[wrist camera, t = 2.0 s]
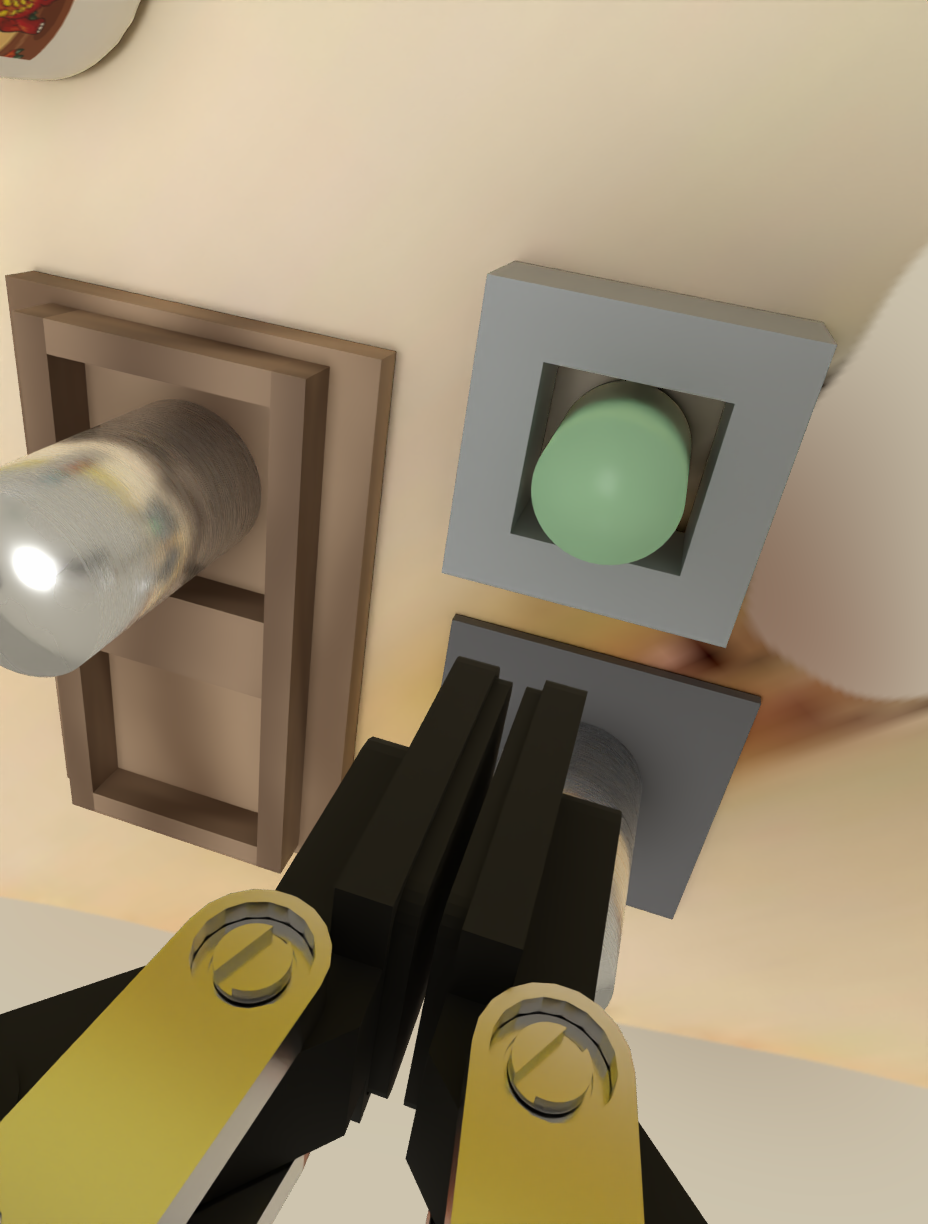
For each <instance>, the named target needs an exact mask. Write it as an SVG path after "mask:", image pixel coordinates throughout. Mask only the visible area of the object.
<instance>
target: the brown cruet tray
mask: <svg viewBox="0 0 928 1224" xmlns="http://www.w3.org/2000/svg"><path fill="white" fill-rule="evenodd" d="M5 278H6V286H7V294H8V302H9V310H10V318H11V326H12V334H13V342H14V350H15V358H16V366H17V374H18V383H19V391H20V399H21V407H22V415H23V423H24V431H25V439H26V447H27V455H29V454H31V453H33V452H36V451H38V450H41V449H43V448H45V447H48V446H50V445H52V444H55V443H57V442H60V441H62V440H64V439H67V438H69V437H71V436H74V435H76V434H79V433H81V432H83V431H86V430H88V429H90V428H93V427H95V426H98V425H100V424H102V423H105V422H107V421H109V420H112V419H114V418H117V417H119V416H121V415H124V414H126V413H128V412H131V411H133V410H136V409H138V408H140V407H143V406H145V405H147V404H150V403H152V402H156V401H159V400H166V399H178V400H184V401H189V402H192V403H195V404H198V405H200V406H203V407H205V408H207V409H209V410H210V411H212V412H214V413H215V414H217V415H218V416H219V417H221V418H222V419H223V420H225V421H226V422H227V423H228V424H229V425H230V426H231V427H232V428H233V429H234V430H235V431H236V433H237V434H238V435H239V436H240V437H241V439H242V440H243V442H244V443H245V445H246V446H247V448H248V450H249V451H250V453H251V455H252V457H253V460H254V462H255V465H256V467H257V471H258V474H259V478H260V485H261V505H260V510H259V514H258V517H257V519H256V522H255V524H254V525H253V527H252V529H251V530H250V531H249V533H248V534H247V535H246V536H245V537H244V538H243V539H242V540H240V541H239V542H238V543H237V544H235V545H234V546H233V547H231V548H230V549H229V550H228V551H226V552H225V553H224V554H223V555H221V556H220V557H219V558H217V559H216V560H215V561H214V562H212V563H211V564H210V565H208V566H207V567H206V568H205V569H203V570H202V571H201V572H200V573H198V574H197V575H196V576H194V577H193V578H192V579H191V580H189V581H188V582H187V583H185V584H184V585H183V586H182V587H180V588H179V589H178V590H177V591H175V592H174V593H173V594H171V595H170V596H169V597H168V598H166V599H165V600H164V601H162V602H161V603H160V604H159V605H157V606H156V607H155V608H154V609H152V610H151V611H150V612H148V613H147V614H146V615H145V616H143V617H142V618H141V619H139V620H138V621H137V622H136V623H134V624H133V625H132V626H131V627H129V628H128V629H127V630H125V631H124V632H123V633H122V634H120V635H119V636H118V637H116V638H115V639H114V640H113V641H111V642H110V643H109V644H108V645H106V646H105V647H104V648H102V649H101V650H100V651H99V652H97V653H96V654H95V655H93V656H92V657H91V658H90V659H88V660H87V661H86V662H85V663H83V664H82V665H81V666H79V667H78V668H77V669H75V670H73V671H71V672H69V673H67V674H64V675H61V676H55V680H56V688H57V696H58V704H59V712H60V720H61V728H62V736H63V744H64V752H65V760H66V768H67V776H68V778H70V786H71V794H72V803H73V804H74V805H77V806H80V807H83V808H86V809H89V810H92V811H95V812H98V813H101V814H104V815H107V816H110V817H113V818H116V819H119V820H122V821H125V822H128V823H131V824H134V825H137V826H139V827H142V828H145V829H148V830H151V831H154V832H157V833H160V834H163V835H166V836H169V837H172V838H175V839H178V840H181V841H184V842H187V843H190V844H193V845H196V846H199V847H202V848H205V849H208V850H211V851H214V852H217V853H220V854H223V855H226V856H229V857H232V858H235V859H238V860H241V861H244V862H247V863H250V864H253V865H256V866H259V867H262V868H265V869H268V870H271V871H274V872H277V873H280V874H281V872H282V870H283V869H284V867H285V866H286V864H287V862H288V861H289V859H290V858H291V856H292V854H293V853H294V852H295V853H298V852H299V850H300V849H301V847H302V845H303V844H304V842H305V841H306V839H307V837H308V836H309V834H310V832H311V831H312V829H313V827H314V826H315V824H316V823H317V821H318V819H319V818H320V816H321V814H322V813H323V811H324V809H325V808H326V806H327V805H328V803H329V801H330V800H331V798H332V796H333V795H334V793H335V791H336V790H337V788H338V787H339V785H340V783H341V782H342V780H343V778H344V777H345V775H346V773H347V772H348V770H349V769H350V767H351V765H352V764H353V758H354V748H355V739H356V729H357V719H358V710H359V700H360V691H361V681H362V672H363V662H364V653H365V643H366V633H367V624H368V614H369V605H370V595H371V586H372V576H373V567H374V557H375V547H376V538H377V528H378V519H379V509H380V500H381V490H382V481H383V471H384V461H385V452H386V442H387V433H388V423H389V414H390V404H391V395H392V385H393V375H394V366H395V356H396V351H391V350H387V349H382V348H378V347H373V346H369V345H364V344H360V343H355V342H351V341H346V340H342V339H337V338H333V337H328V336H324V335H319V334H315V333H310V332H306V331H301V330H297V329H292V328H288V327H283V326H279V325H274V324H270V323H265V322H261V321H256V320H252V319H247V318H243V317H238V316H234V315H229V314H225V313H220V312H216V311H211V310H207V309H202V308H198V307H193V306H189V305H184V304H180V303H175V302H171V301H166V300H162V299H157V298H153V297H148V296H144V295H139V294H135V293H130V292H126V291H121V290H117V289H112V288H108V287H103V286H99V285H94V284H90V283H85V282H81V281H76V280H72V279H67V278H63V277H58V276H54V275H49V274H45V273H40V272H36V271H30V272H24V273H18V274H11V275H5Z"/></svg>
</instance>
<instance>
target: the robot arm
mask: <svg viewBox="0 0 928 1224" xmlns="http://www.w3.org/2000/svg"><path fill="white" fill-rule="evenodd" d="M499 675H500V667H498V666H495V665H491V664H488V663H484V662H480V661H477V660H473V659H470V658H466V657H462V656H458V657H457V659H456V660H455V662H454V664H453V666H452V668H451V670H450V671H449V673H448V675H447V677H446V679H445V681H444V683H443V685H442V687H441V688H440V690H439V692H438V694H437V696H436V698H435V700H434V702H433V703H432V705H431V707H430V709H429V711H428V713H427V715H426V717H425V719H424V720H423V722H422V724H421V726H420V728H419V730H418V732H417V734H416V735H415V737H414V739H413V741H412V743H411V745H410V747H406V746H403V745H399V744H396V743H393V742H389V741H386V740H383V739H379V738H376V737H371V738H370V739H368V740H367V742H366V743H365V744H364V746H363V747H362V749H361V750H360V752H359V754H358V755H357V757H356V759H355V760H354V762H353V764H352V765H351V767H350V769H349V770H348V772H347V773H346V775H345V777H344V778H343V780H342V782H341V783H340V785H339V787H338V788H337V790H336V791H335V793H334V795H333V796H332V798H331V800H330V801H329V803H328V805H327V806H326V808H325V809H324V811H323V813H322V814H321V816H320V818H319V819H318V821H317V823H316V824H315V826H314V827H313V829H312V831H311V832H310V834H309V836H308V837H307V839H306V841H305V842H304V844H303V845H302V847H301V849H300V850H299V852H298V854H297V855H296V857H295V859H294V860H293V862H292V863H291V865H290V867H289V868H288V870H287V872H286V873H285V875H284V877H283V878H282V880H281V881H280V883H279V885H278V886H277V888H276V890H261V889H251V890H246V891H241V892H235V893H230V894H228V895H226V896H224V897H221V898H219V899H217V900H215V901H213V902H210V903H208V904H207V905H206V906H205V907H203V908H202V909H201V910H200V911H198V912H197V913H196V914H195V915H194V916H192V917H191V918H190V919H189V920H188V921H187V922H186V923H185V924H184V925H183V926H182V927H181V929H180V930H179V931H178V932H177V933H176V934H175V935H174V936H173V937H172V938H171V939H170V940H169V941H168V943H167V944H166V945H165V946H164V947H163V948H162V949H161V950H160V951H159V952H158V953H157V955H155V956H154V958H153V959H152V960H151V961H150V962H149V963H148V964H147V965H146V966H143V967H140V968H137V969H134V970H131V971H128V972H125V973H122V974H119V975H116V976H114V977H110V978H107V979H104V980H101V981H98V982H95V983H92V984H89V985H86V986H83V987H81V988H77V989H74V990H72V991H68V992H66V993H63V994H60V995H57V996H54V997H51V998H48V999H45V1000H42V1001H39V1002H36V1003H33V1004H30V1005H27V1006H24V1007H21V1008H18V1009H15V1010H12V1011H9V1012H6V1013H3V1014H0V1224H272V1223H273V1221H274V1220H275V1218H276V1216H277V1214H278V1213H279V1211H280V1209H281V1208H282V1206H283V1204H284V1202H285V1201H286V1199H287V1197H288V1195H289V1194H290V1192H291V1190H292V1188H293V1187H294V1185H295V1183H296V1182H297V1180H298V1178H299V1176H300V1174H301V1173H302V1171H303V1169H304V1166H305V1164H306V1161H307V1159H308V1157H309V1154H310V1152H311V1151H313V1150H315V1149H317V1148H319V1147H321V1146H323V1145H326V1144H328V1143H330V1142H332V1141H334V1140H336V1139H338V1138H340V1137H342V1136H344V1135H345V1133H346V1130H347V1127H348V1125H349V1122H350V1120H352V1121H354V1122H358V1123H360V1121H361V1118H362V1116H363V1112H364V1110H365V1108H366V1105H367V1102H368V1100H369V1097H370V1094H371V1093H373V1094H375V1095H378V1096H381V1097H383V1098H386V1099H388V1097H389V1095H390V1093H391V1090H392V1088H393V1085H394V1082H395V1079H396V1076H397V1074H398V1071H399V1068H400V1065H401V1062H402V1059H403V1056H404V1054H405V1051H406V1048H407V1045H408V1043H409V1040H410V1037H411V1034H412V1031H413V1028H414V1025H415V1023H416V1020H417V1017H418V1014H419V1012H420V1009H421V1006H422V1003H423V1000H424V1004H423V1009H422V1014H421V1019H420V1024H419V1029H418V1035H417V1039H416V1044H415V1049H414V1054H413V1059H412V1064H411V1069H410V1074H409V1079H408V1084H407V1089H406V1094H405V1099H404V1105H405V1106H408V1107H410V1108H413V1109H416V1113H415V1118H414V1122H413V1127H412V1131H411V1136H410V1141H409V1145H408V1150H407V1155H406V1160H407V1163H408V1165H409V1167H410V1169H411V1172H412V1173H413V1176H414V1178H415V1180H416V1183H417V1185H418V1187H419V1189H420V1191H421V1194H422V1196H423V1198H424V1200H425V1202H426V1205H427V1207H428V1209H429V1210H428V1214H427V1218H426V1224H707V1222H706V1221H705V1219H704V1218H703V1216H702V1215H701V1213H700V1212H699V1210H698V1209H697V1207H696V1206H695V1205H694V1203H693V1201H692V1200H691V1198H690V1197H689V1196H688V1194H687V1193H686V1191H685V1190H684V1188H683V1187H682V1185H681V1184H680V1182H679V1181H678V1179H677V1178H676V1176H675V1175H674V1173H673V1172H672V1171H671V1169H670V1168H669V1166H668V1165H667V1163H666V1162H665V1160H664V1159H663V1157H662V1156H661V1155H660V1153H659V1151H658V1150H657V1149H656V1147H655V1145H654V1144H653V1143H652V1141H651V1140H650V1138H649V1137H648V1135H647V1134H646V1132H645V1131H644V1129H643V1128H642V1126H641V1125H640V1123H639V1122H638V1109H637V1092H636V1076H635V1069H634V1065H633V1061H632V1055H631V1051H630V1048H629V1045H628V1044H627V1042H626V1040H625V1038H624V1036H623V1034H622V1032H621V1030H620V1029H619V1027H618V1025H617V1024H616V1023H615V1022H614V1021H613V1019H612V1018H611V1017H610V1016H609V1015H608V1014H607V1013H606V1012H605V1011H604V1010H603V1009H602V1007H601V1006H600V1005H598V1004H596V1003H595V1002H594V1000H595V993H596V986H597V980H598V973H599V966H600V960H601V953H602V947H603V940H604V933H605V927H606V920H607V913H608V907H609V900H610V893H611V887H612V880H613V874H614V867H615V860H616V854H617V847H618V840H619V834H620V827H621V819H622V811H620V810H617V809H614V808H610V807H607V806H604V805H600V804H597V803H594V802H590V801H587V800H584V799H580V798H577V797H574V796H570V795H567V794H564V793H563V789H564V785H565V781H566V777H567V773H568V769H569V765H570V761H571V757H572V753H573V749H574V745H575V741H576V737H577V733H578V729H579V725H580V721H581V717H582V713H583V709H584V705H585V701H586V697H587V693H588V691H585V690H581V689H578V688H574V687H570V686H567V685H563V684H560V683H556V682H552V681H549V680H546V682H545V684H544V687H543V690H539V689H535V688H531V687H528V686H527V687H526V689H525V692H524V695H523V697H522V700H521V703H520V705H519V708H518V711H517V713H516V716H515V719H514V722H513V724H512V727H511V730H510V732H509V735H508V738H507V741H506V743H505V746H504V749H503V751H502V754H501V757H500V759H499V762H498V765H497V768H496V770H495V766H496V761H497V757H498V752H499V747H500V743H501V738H502V734H503V729H504V725H505V720H506V715H507V711H508V706H509V702H510V697H511V693H512V687H513V682H510V681H506V680H503V679H499ZM494 770H495V773H494ZM493 775H494V776H493ZM424 997H425V999H424Z"/></svg>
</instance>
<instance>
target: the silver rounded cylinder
mask: <svg viewBox="0 0 928 1224" xmlns="http://www.w3.org/2000/svg"><path fill="white" fill-rule="evenodd" d="M503 749H504V748H503ZM502 751H503V750H502ZM501 754H502V753H501ZM500 757H501V755H500ZM499 759H500V758H499ZM498 762H499V760H498ZM497 765H498V763H497ZM497 765H496V768H497ZM496 768H495V770H496ZM494 773H495V771H494ZM493 776H494V775H493ZM563 793H564V794H567V795H570V796H574V797H577V798H580V799H584V800H587V801H590V802H594V803H597V804H600V805H604V806H607V807H610V808H614V809H617V810H620V811H622V819H621V827H620V834H619V840H618V847H617V854H616V860H615V867H614V874H613V880H612V887H611V893H610V900H609V907H608V913H607V920H606V927H605V933H604V940H603V947H602V953H601V960H600V966H599V973H598V980H597V986H596V993H595V1000H594V1002H595V1003H596V1004H598V1005H600V1006H601V1007H602V1009H603V1010H604V1009H605V1008H606V1007H607V1006H608V1004H609V1002H610V1000H611V998H612V994H613V990H614V984H615V977H616V970H617V963H618V956H619V948H620V941H621V934H622V927H623V920H624V913H625V906H626V899H627V892H628V885H629V878H630V871H631V864H632V857H633V850H634V843H635V836H636V829H637V821H638V814H639V807H640V800H641V793H642V779H641V774H640V771H639V768H638V766H637V763H636V761H635V760H634V758H633V756H632V755H631V753H630V752H629V751H628V750H627V748H626V747H625V746H624V745H623V744H622V743H621V742H620V741H618V740H617V739H616V738H615V737H613V736H612V735H611V734H609V733H607V732H606V731H604V730H602V729H600V728H598V727H596V726H593V725H591V724H588V723H585V722H581V721H580V725H579V729H578V733H577V737H576V741H575V745H574V749H573V753H572V757H571V761H570V765H569V769H568V773H567V777H566V781H565V785H564V789H563Z"/></svg>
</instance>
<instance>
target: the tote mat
mask: <svg viewBox="0 0 928 1224" xmlns="http://www.w3.org/2000/svg"><path fill="white" fill-rule="evenodd" d="M458 656H462V657H466V658H470V659H473V660H477V661H480V662H484V663H488V664H491V665H495V666H498V667H500V675H499V679H503V680H506V681H510V682H513V687H512V693H511V697H510V702H509V706H508V711H507V715H506V720H505V725H504V729H503V734H502V738H501V743H500V747H499V752H498V757H497V761H496V765H497V763H498V760H499V758H500V755H501V753H502V750H503V748H504V746H505V743H506V741H507V738H508V735H509V732H510V730H511V727H512V724H513V722H514V719H515V716H516V713H517V711H518V708H519V705H520V703H521V700H522V697H523V695H524V692H525V689H526V687H527V686H528V687H531V688H535V689H539V690H543V687H544V684H545V682H546V680H549V681H552V682H556V683H560V684H563V685H567V686H570V687H574V688H578V689H581V690H585V691H588V693H587V697H586V701H585V705H584V709H583V713H582V717H581V722H585V723H588V724H591V725H593V726H596V727H598V728H600V729H602V730H604V731H606V732H607V733H609V734H611V735H612V736H613V737H615V738H616V739H617V740H618V741H620V742H621V743H622V744H623V745H624V746H625V747H626V748H627V750H628V751H629V752H630V753H631V755H632V756H633V758H634V760H635V761H636V763H637V766H638V768H639V771H640V774H641V779H642V793H641V800H640V807H639V814H638V821H637V829H636V836H635V843H634V850H633V857H632V864H631V871H630V878H629V885H628V892H627V899H626V905H628V906H631V907H635V908H638V909H641V910H644V911H647V912H650V913H653V914H656V915H660V916H663V917H666V918H669V919H673V917H674V914H675V912H676V909H677V907H678V905H679V902H680V900H681V897H682V895H683V892H684V890H685V888H686V885H687V883H688V880H689V878H690V875H691V873H692V871H693V868H694V866H695V863H696V861H697V858H698V856H699V853H700V851H701V849H702V846H703V844H704V841H705V839H706V836H707V834H708V832H709V829H710V827H711V824H712V822H713V819H714V817H715V815H716V812H717V810H718V807H719V805H720V802H721V800H722V798H723V795H724V793H725V790H726V788H727V785H728V783H729V780H730V778H731V776H732V773H733V771H734V768H735V766H736V763H737V761H738V759H739V756H740V754H741V751H742V749H743V746H744V744H745V742H746V739H747V737H748V734H749V732H750V729H751V727H752V725H753V722H754V720H755V717H756V715H757V712H758V710H759V707H760V705H761V698H760V697H759V696H755V695H751V694H748V693H744V692H740V691H737V690H733V689H729V688H726V687H722V686H718V685H715V684H711V683H707V682H704V681H700V680H696V679H693V678H689V677H685V676H682V675H678V674H674V673H671V672H667V671H663V670H659V669H656V668H652V667H648V666H645V665H641V664H637V663H634V662H630V661H626V660H623V659H619V658H615V657H612V656H608V655H604V654H601V653H597V652H593V651H590V650H586V649H582V648H579V647H575V646H571V645H568V644H564V643H560V642H557V641H553V640H549V639H546V638H542V637H538V636H534V635H531V634H527V633H523V632H520V631H516V630H512V629H509V628H505V627H501V626H498V625H494V624H490V623H487V622H483V621H479V620H476V619H472V618H468V617H465V616H461V615H457V614H455V616H454V618H453V619H452V625H451V631H450V637H449V643H448V649H447V655H446V661H445V667H444V673H443V679H442V685H443V683H444V681H445V679H446V677H447V675H448V673H449V671H450V670H451V668H452V666H453V664H454V662H455V660H456V659H457V657H458ZM442 685H441V687H442ZM495 768H496V766H495ZM494 771H495V770H494Z"/></svg>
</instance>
